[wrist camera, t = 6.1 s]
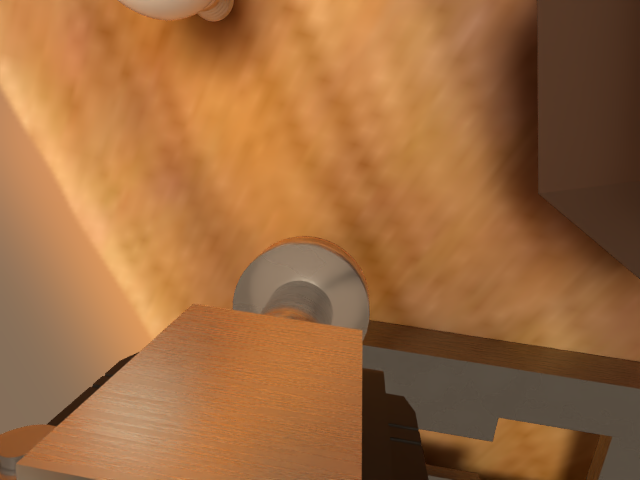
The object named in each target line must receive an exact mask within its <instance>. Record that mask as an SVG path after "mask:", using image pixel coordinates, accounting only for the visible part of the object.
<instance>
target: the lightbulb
mask: <svg viewBox="0 0 640 480" xmlns="http://www.w3.org/2000/svg"><path fill="white" fill-rule="evenodd" d="M118 1H119V2H121V3H122V4H123V5H125V6H126V7H128V8H129V9H131V10H133V11H135V12H137V13H139V14H141V15H144V16H146V17H149V18H153V19H158V20H180V19H184V18H188V17H190V16H193V15H195V14H198V15H199V16H201V17H202V18H203V19H205V20H207V21H212V22H215V21H220V20H222V19H224V18H225V17H226V16H227V15H228V14H229V13H230V11H231V9H232V7H233V3H234V0H118Z"/></svg>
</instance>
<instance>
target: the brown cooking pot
mask: <svg viewBox="0 0 640 480" xmlns="http://www.w3.org/2000/svg"><path fill="white" fill-rule="evenodd" d="M537 29H538V194H539V195H541V196H542V197H543V198H544V199H545V200H547V201H548V202H549V203H550V204H551V205H553V206H554V207H555V208H556V209H557V210H558V211H560V212H561V213H562V214H563V215H564V216H566V217H567V218H568V219H569V220H570V221H572V222H573V223H574V224H575V225H576V226H577V227H579V228H580V229H581V230H582V231H583V232H585V233H586V234H587V235H588V236H589V237H591V238H592V239H593V240H594V241H595V242H597V243H598V244H599V245H600V246H601V247H602V248H604V249H605V250H606V251H607V252H608V253H610V254H611V255H612V256H613V257H614V258H616V259H617V260H618V261H619V262H620V263H621V264H623V265H624V266H625V267H626V268H627V269H629V270H630V271H631V272H632V273H633V274H635V275H636V276H637V277H638V278H639V279H640V0H537Z"/></svg>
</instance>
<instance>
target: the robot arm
mask: <svg viewBox="0 0 640 480" xmlns="http://www.w3.org/2000/svg"><path fill="white" fill-rule="evenodd" d="M138 353H139V352H138ZM138 353H136V354H134V355H132V356H129V357H127V358H125V359H123V360H121V361H119V362H118V363H117V364H116V365H115V366H114V367H112V368H111V369H110V370H109V371H108V372H107V373H105V376H102V377H101V378H100V379H98V380H97V381H96V382H95V383H94V384H93V386H92V387H89V388H88V389H87V390H86V391H85V392H83V393H82V394H81V395H80V396H79V397H78V398H77V399H75V400H74V401H73V402H72V403H71V404H70V405H69V406H67V407H66V408H65V409H64V410H63V411H62V412H60V413H59V414H58V415H57V416H56V417H55V418H54V419H52V420H51V421H50V422H49V423H48V424H47V425H31V426H25V427H21V428H17V429H13V430H11V431H8V432H5V433H3V434H0V480H17V478H16V463H17V462H18V461H19V460H20V459H22V458H23V457H24V456H25V455H26V454H27V453H28V452H29V451H30V450H32V449H33V448H34V447H35V446H36V445H37V444H38V443H39V442H40V441H41V440H43V439H44V438H45V437H46V436H47V435H48V434H49V433H50V432H51V431H53V430H54V429H55V428H56V427H57V426H58V425H59V424H60V423H61V422H63V421H64V420H65V419H66V418H67V417H68V416H69V415H70V414H71V413H72V412H74V411H75V410H76V409H77V408H78V407H79V406H80V405H81V404H82V403H84V402H85V401H86V400H87V399H88V398H89V397H90V396H91V395H92V394H94V393H95V392H96V391H97V390H98V389H99V388H100V387H101V386H102V385H103V384H105V383H106V382H107V381H108V380H109V379H110V378H111V377H112V376H113V375H115V374H116V373H117V372H118V371H119V370H120V369H121V368H122V367H123V366H125V365H126V364H127V363H128V362H129V361H130V360H131V359H132V358H133V357H134V356H136V355H137V354H138ZM362 480H429V479H428V474H427V469H426V464H425V459H424V454H423V448H422V446H421V438H420V433H419V432H418V423H417V418H416V413H415V411H414V409H413V408H412V407H411V405H410V404H409V403H408V401H407V400H406V399H405V397H404V396H400V395H394V394H388V393H386V391H385V380H384V372H383V371H379V370H373V369H367V368H362Z"/></svg>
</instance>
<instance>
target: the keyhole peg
mask: <svg viewBox="0 0 640 480" xmlns="http://www.w3.org/2000/svg"><path fill="white" fill-rule="evenodd" d="M368 324H369V291H368V286H367V282H366V279H365V276H364V274H363V272H362V270H361V268H360V267H359V265H358V264H357V262H356V261H355V260H354V259H353V258H352V257H351V255H349V254H348V253H347V252H346V251H345V250H343V249H342V248H340V247H339V246H337V245H336V244H334V243H332V242H330V241H327V240H324V239H321V238H316V237H307V236H301V237H292V238H287V239H284V240H281V241H279V242H277V243H275V244H273V245H271V246H270V247H268V248H267V249H265V250H264V251H263V252H262V253H261V254H260V255H259V256H258V257H257V258H256V259H255V260H254V261H253V262H252V263H251V264H250V265H249V266H248V267H247V269H246V270H245V271H244V273H243V274H242V276H241V277H240V279H239V281H238V284H237V286H236V289H235V293H234V299H233V310H231V309H225V308H218V307H212V306H205V305H199V304H192V305H191V306H190V307H189V308H188V309H187V310H185V311H184V312H183V313H182V314H181V315H180V316H179V317H178V318H177V319H175V320H174V321H173V322H172V323H171V324H170V325H169V326H168V327H167V328H165V329H164V330H163V331H162V332H161V333H160V334H159V335H158V336H157V337H156V338H154V339H153V340H152V341H151V342H150V343H149V344H148V345H147V346H146V347H144V348H143V349H142V350H141V351H140V352H139V353H138V354H137V355H136V356H134V357H133V358H132V359H131V360H130V361H129V362H128V363H127V364H126V365H125V366H123V367H122V368H121V369H120V370H119V371H118V372H117V373H116V374H115V375H113V376H112V377H111V378H110V379H109V380H108V381H107V382H106V383H105V384H103V385H102V386H101V387H100V388H99V389H98V390H97V391H96V392H95V393H94V394H92V395H91V396H90V397H89V398H88V399H87V400H86V401H85V402H84V403H82V404H81V405H80V406H79V407H78V408H77V409H76V410H75V411H74V412H72V413H71V414H70V415H69V416H68V417H67V418H66V419H65V420H64V421H63V422H61V423H60V424H59V425H58V426H57V427H56V428H55V429H54V430H53V431H51V432H50V433H49V434H48V435H47V436H46V437H45V438H44V439H43V440H41V441H40V442H39V443H38V444H37V445H36V446H35V447H34V448H33V449H32V450H30V451H29V452H28V453H27V454H26V455H25V456H24V457H23V458H22V459H20V460H19V461H18V462H17V463H16V478H17V480H362V341H363V340H364V337H365V335H366V332H367V328H368Z"/></svg>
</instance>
